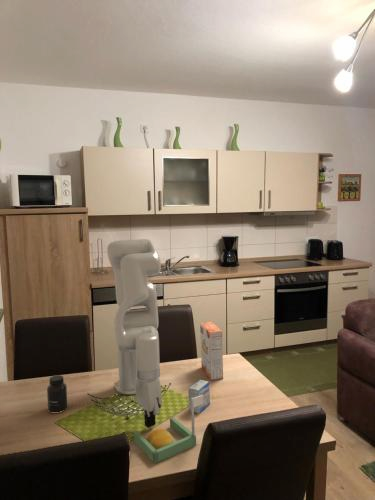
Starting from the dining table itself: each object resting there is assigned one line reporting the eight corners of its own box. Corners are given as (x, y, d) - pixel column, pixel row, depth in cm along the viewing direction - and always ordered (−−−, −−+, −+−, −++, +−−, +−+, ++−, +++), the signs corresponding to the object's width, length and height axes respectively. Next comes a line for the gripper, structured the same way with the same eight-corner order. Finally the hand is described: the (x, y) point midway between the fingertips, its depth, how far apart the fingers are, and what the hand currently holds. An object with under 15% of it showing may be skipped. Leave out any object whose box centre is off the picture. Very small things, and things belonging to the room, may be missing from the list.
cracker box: (200, 367, 174) (199, 322, 171) (213, 365, 175) (212, 321, 173) (209, 381, 160) (208, 332, 158) (223, 379, 162) (222, 330, 159)
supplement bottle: (49, 416, 136) (47, 383, 135) (46, 407, 142) (44, 376, 141) (69, 410, 139) (67, 379, 138) (66, 402, 146) (64, 372, 144)
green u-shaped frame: (134, 440, 121) (132, 395, 119) (181, 421, 131) (180, 379, 129) (154, 463, 110) (153, 413, 108) (205, 440, 120) (204, 394, 118)
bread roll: (152, 458, 113) (152, 445, 112) (143, 441, 121) (142, 429, 120) (178, 450, 116) (178, 437, 115) (168, 434, 124) (167, 422, 124)
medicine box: (199, 414, 135) (198, 390, 134) (188, 410, 137) (188, 387, 136) (210, 404, 142) (209, 381, 141) (199, 401, 144) (199, 379, 143)
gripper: (127, 367, 129) (129, 418, 131) (149, 384, 116) (151, 440, 119) (147, 361, 133) (149, 411, 135) (170, 377, 121) (171, 432, 123)
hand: (150, 425), depth 127 cm, fingers closed
